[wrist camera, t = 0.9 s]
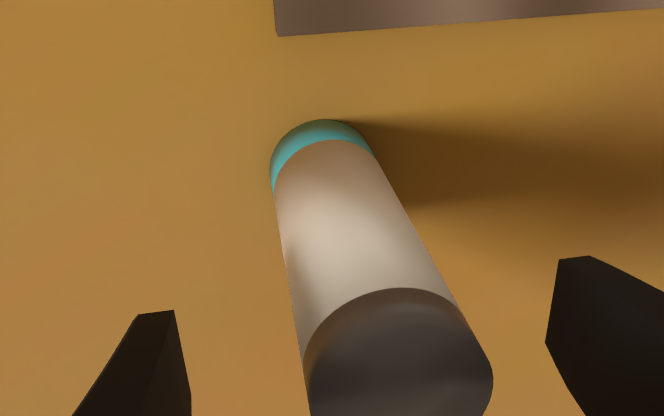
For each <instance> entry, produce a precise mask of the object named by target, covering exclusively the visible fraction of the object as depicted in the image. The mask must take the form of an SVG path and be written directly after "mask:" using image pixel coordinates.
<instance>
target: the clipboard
mask: <svg viewBox="0 0 664 416" xmlns="http://www.w3.org/2000/svg"><path fill="white" fill-rule="evenodd" d="M273 3H274V15H275V28H276V33H277V35H278V37H283V36H296V35H309V34H322V33H335V32H349V31H362V30H375V29H388V28H401V27H414V26H428V25H441V24H454V23H467V22H480V21H494V20H507V19H520V18H533V17H546V16H559V15H573V14H586V13H599V12H612V11H625V10H638V9H652V8H664V0H273Z"/></svg>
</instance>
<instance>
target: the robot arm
mask: <svg viewBox="0 0 664 416" xmlns="http://www.w3.org/2000/svg"><path fill="white" fill-rule="evenodd" d="M545 344H546V346H547V348H548V350H549V352H550V354H551V356H552V358H553V360H554V363H555V365H556V367H557V369H558V371H559V373H560V375H561V376H562V378H563V380H564V382H565V384H566V386H567V388H568V390H569V391H570V393H571V394H572V396H573V397H574V399H575V400H576V402H577V403H578V405H579V406H580V408H581V409H582V411H583V412H584V414H585V415H586V416H664V292H662V291H661V290H659V289H657V288H655V287H653V286H651V285H649V284H647V283H645V282H643V281H641V280H639V279H637V278H635V277H633V276H631V275H629V274H627V273H625V272H623V271H621V270H619V269H617V268H615V267H613V266H611V265H609V264H607V263H605V262H603V261H601V260H598V259H596V258H594V257H591V256H582V257H574V258H566V259H559V263H558V269H557V274H556V280H555V286H554V292H553V298H552V304H551V310H550V316H549V322H548V328H547V334H546V340H545ZM72 416H191V392H190V387H189V382H188V377H187V372H186V367H185V362H184V357H183V352H182V348H181V343H180V338H179V333H178V328H177V323H176V318H175V313H174V310H169V311H161V312H154V313H146V314H138V316H137V317H136V318H135V319H134V320H133V321H132V323H131V325H130V327H129V328H128V330H127V332H126V333H125V335H124V337H123V338H122V340H121V342H120V343H119V345H118V347H117V348H116V350H115V352H114V353H113V355H112V356H111V358H110V360H109V361H108V363H107V364H106V366H105V368H104V369H103V371H102V372H101V374H100V375H99V377H98V378H97V380H96V381H95V383H94V384H93V386H92V387H91V388H90V390H89V391H88V393H87V394H86V396H85V397H84V399H83V400H82V402H81V403H80V405H79V406H78V407H77V409H76V410H75V412H74V413H73V414H72Z"/></svg>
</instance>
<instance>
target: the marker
mask: <svg viewBox="0 0 664 416" xmlns="http://www.w3.org/2000/svg"><path fill="white" fill-rule="evenodd" d="M270 179H271V185H272V190H273V196H274V202H275V208H276V214H277V220H278V226H279V232H280V238H281V243H282V249H283V255H284V261H285V267H286V273H287V279H288V285H289V291H290V297H291V302H292V308H293V314H294V320H295V326H296V332H297V338H298V344H299V350H300V355H301V361H302V367H303V373H304V379H305V385H306V391H307V397H308V403H309V409H310V414H311V416H482V415H483V413H484V411H485V410H486V408H487V406H488V403H489V401H490V398H491V394H492V389H493V373H492V368H491V365H490V362H489V360H488V359H487V357H486V355H485V353H484V351H483V350H482V348H481V346H480V344H479V342H478V341H477V339H476V337H475V335H474V333H473V332H472V330H471V328H470V326H469V325H468V323H467V321H466V319H465V317H464V316H463V314H462V312H461V310H460V308H459V307H458V305H457V303H456V301H455V299H454V298H453V296H452V294H451V292H450V291H449V289H448V287H447V285H446V283H445V282H444V280H443V278H442V276H441V274H440V273H439V271H438V269H437V267H436V266H435V264H434V262H433V260H432V258H431V257H430V255H429V253H428V251H427V249H426V248H425V246H424V244H423V242H422V240H421V239H420V237H419V235H418V233H417V232H416V230H415V228H414V226H413V224H412V223H411V221H410V219H409V217H408V215H407V214H406V212H405V210H404V208H403V206H402V205H401V203H400V201H399V199H398V198H397V196H396V194H395V192H394V190H393V189H392V187H391V185H390V183H389V181H388V180H387V178H386V176H385V174H384V172H383V171H382V169H381V167H380V165H379V164H378V162H377V160H376V158H375V156H374V155H373V153H372V151H371V149H370V147H369V146H368V144H367V142H366V140H365V139H364V138H363V136H362V135H361V134H360V133H359V132H358V131H356V130H355V129H354V128H352V127H351V126H349V125H347V124H345V123H342V122H339V121H334V120H314V121H310V122H306V123H304V124H301V125H299V126H297V127H296V128H294V129H292V130H291V131H290V132H288V133H287V134H286V135H285V136H284V137H283V138H282V139H281V140H280V142H279V143H278V145H277V146H276V148H275V150H274V152H273V154H272V158H271V161H270Z"/></svg>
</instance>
